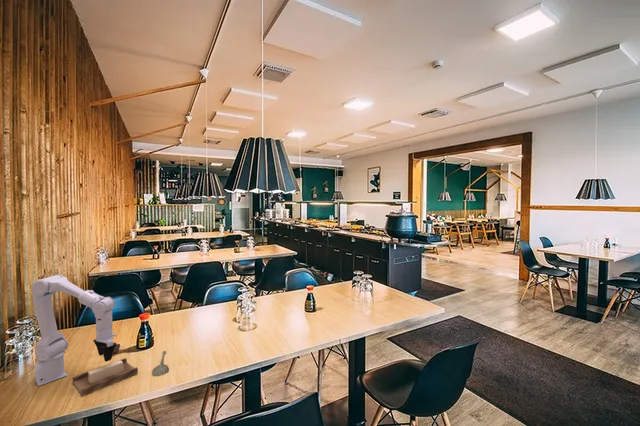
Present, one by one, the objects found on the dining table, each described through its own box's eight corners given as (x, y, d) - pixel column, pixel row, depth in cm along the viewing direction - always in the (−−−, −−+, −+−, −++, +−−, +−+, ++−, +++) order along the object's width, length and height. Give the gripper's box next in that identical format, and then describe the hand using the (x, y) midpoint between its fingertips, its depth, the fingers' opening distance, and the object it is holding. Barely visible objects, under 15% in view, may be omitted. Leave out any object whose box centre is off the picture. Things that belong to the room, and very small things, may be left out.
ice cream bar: (115, 359, 148) (120, 345, 161) (115, 356, 148) (120, 342, 161) (102, 361, 145) (108, 347, 159) (102, 358, 145) (108, 344, 159)
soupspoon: (150, 380, 131) (167, 377, 134) (150, 373, 131) (167, 370, 134) (157, 354, 152) (171, 352, 154) (157, 348, 152) (172, 346, 154)
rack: (82, 396, 119) (81, 390, 119) (72, 383, 127) (72, 377, 127) (137, 373, 134) (137, 368, 134) (125, 363, 143) (125, 357, 143)
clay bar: (90, 383, 125) (90, 374, 125) (88, 381, 127) (88, 371, 127) (123, 371, 135) (123, 362, 135) (120, 368, 137) (120, 360, 136)
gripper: (121, 328, 129) (121, 359, 130) (109, 319, 138) (110, 348, 139) (101, 333, 124) (102, 366, 124) (90, 324, 133) (91, 354, 133)
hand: (105, 357), depth 131 cm, fingers open, 7 cm apart
